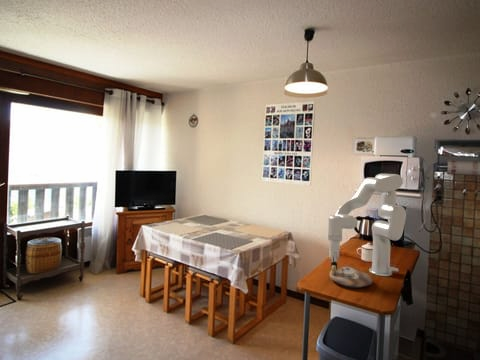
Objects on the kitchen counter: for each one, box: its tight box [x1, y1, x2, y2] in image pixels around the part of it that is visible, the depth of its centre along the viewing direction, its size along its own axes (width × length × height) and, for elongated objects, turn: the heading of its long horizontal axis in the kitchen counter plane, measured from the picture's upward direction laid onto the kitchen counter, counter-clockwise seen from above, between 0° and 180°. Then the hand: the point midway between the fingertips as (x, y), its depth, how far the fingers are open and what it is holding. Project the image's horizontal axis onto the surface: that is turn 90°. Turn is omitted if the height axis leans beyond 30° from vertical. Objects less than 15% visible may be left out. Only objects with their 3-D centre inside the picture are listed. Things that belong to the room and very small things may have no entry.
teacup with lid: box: [356, 242, 373, 263], centre depth 201 cm, size 12×9×12 cm
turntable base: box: [335, 282, 365, 289], centre depth 162 cm, size 16×16×2 cm
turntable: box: [329, 265, 373, 288], centre depth 162 cm, size 22×22×6 cm
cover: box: [340, 266, 356, 278], centre depth 163 cm, size 7×7×4 cm
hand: (334, 269), depth 166 cm, fingers closed
